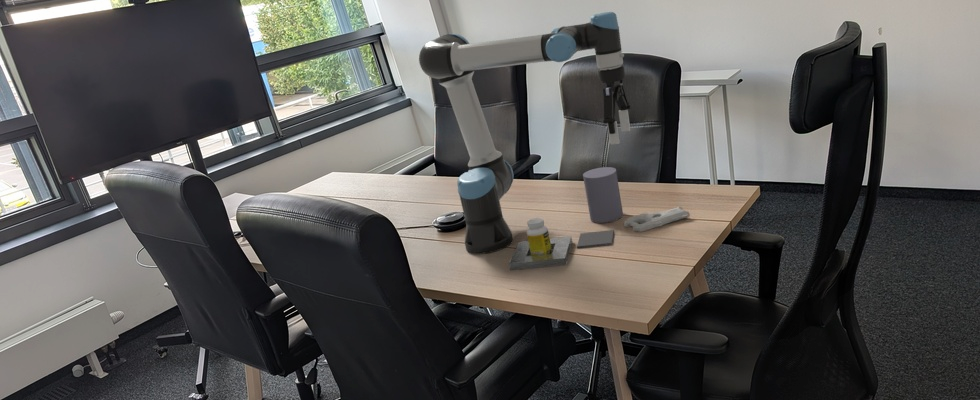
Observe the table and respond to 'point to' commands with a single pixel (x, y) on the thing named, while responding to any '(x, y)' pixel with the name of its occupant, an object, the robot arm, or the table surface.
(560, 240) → the housing plate
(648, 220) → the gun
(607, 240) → the rubber mat
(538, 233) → the pill bottle
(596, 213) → the container
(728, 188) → the table surface
